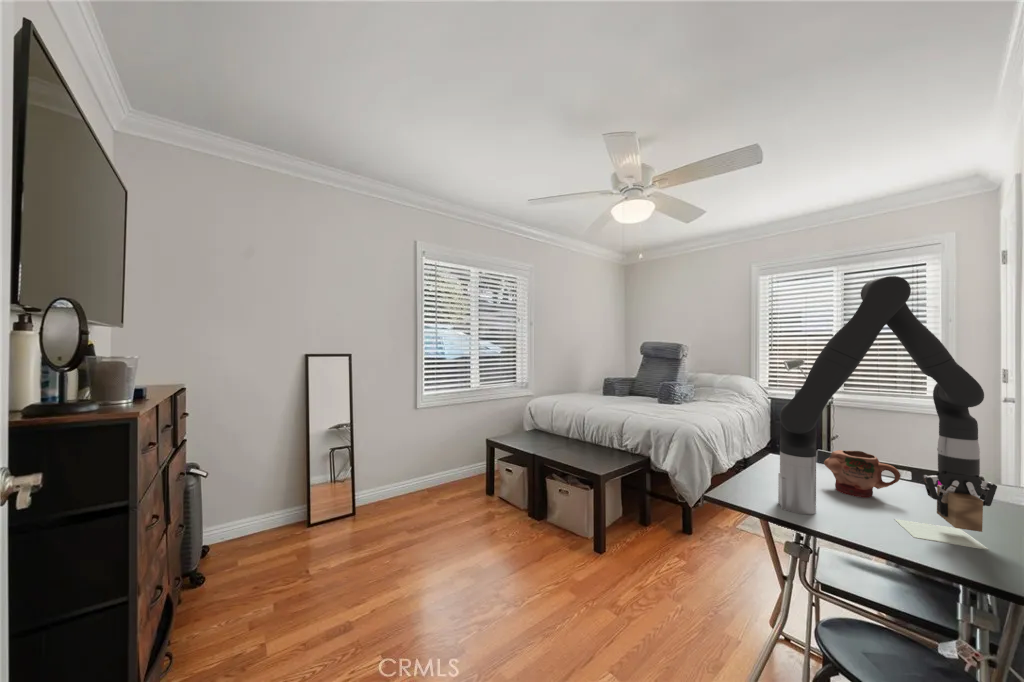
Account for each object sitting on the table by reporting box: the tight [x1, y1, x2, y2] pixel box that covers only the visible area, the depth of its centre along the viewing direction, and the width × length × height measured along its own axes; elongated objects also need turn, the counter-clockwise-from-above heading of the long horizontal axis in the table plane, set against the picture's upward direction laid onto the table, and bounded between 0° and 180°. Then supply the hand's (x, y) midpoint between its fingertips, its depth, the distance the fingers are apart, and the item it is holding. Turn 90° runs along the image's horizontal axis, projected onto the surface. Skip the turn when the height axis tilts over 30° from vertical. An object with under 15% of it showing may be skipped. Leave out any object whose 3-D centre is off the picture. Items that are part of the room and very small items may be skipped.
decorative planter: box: [823, 449, 902, 499], centre depth 137 cm, size 20×12×14 cm, turn 42°
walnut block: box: [936, 484, 984, 533], centre depth 107 cm, size 5×9×8 cm, turn 155°
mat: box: [893, 518, 989, 551], centre depth 109 cm, size 14×12×1 cm
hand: (958, 517), depth 107 cm, fingers closed on walnut block, 5 cm apart
